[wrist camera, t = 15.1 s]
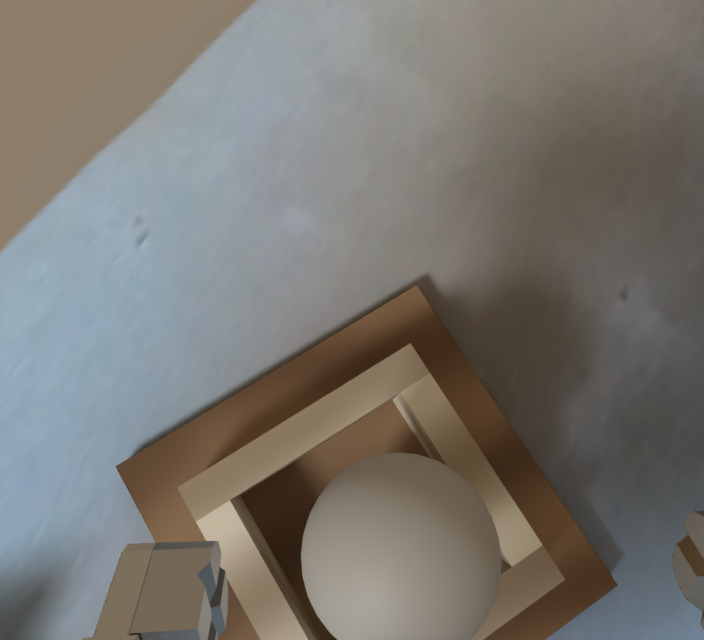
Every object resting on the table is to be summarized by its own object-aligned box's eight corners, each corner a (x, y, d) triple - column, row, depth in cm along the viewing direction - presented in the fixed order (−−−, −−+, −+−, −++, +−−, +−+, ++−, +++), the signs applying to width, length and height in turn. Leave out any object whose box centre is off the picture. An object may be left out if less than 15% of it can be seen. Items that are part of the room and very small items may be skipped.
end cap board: (607, 580, 27) (654, 600, 23) (304, 805, 25) (299, 870, 21) (413, 290, 30) (426, 265, 26) (123, 466, 27) (89, 467, 24)
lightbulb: (451, 599, 26) (537, 701, 15) (309, 600, 26) (292, 704, 15) (446, 453, 27) (522, 452, 16) (311, 453, 27) (297, 451, 16)
